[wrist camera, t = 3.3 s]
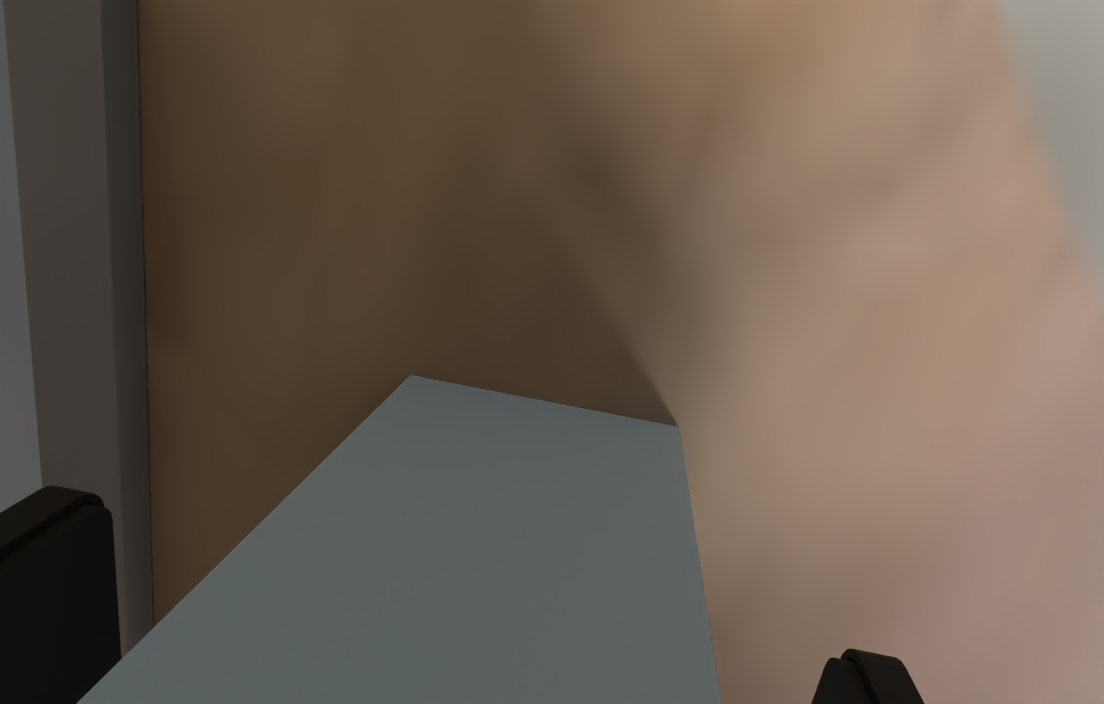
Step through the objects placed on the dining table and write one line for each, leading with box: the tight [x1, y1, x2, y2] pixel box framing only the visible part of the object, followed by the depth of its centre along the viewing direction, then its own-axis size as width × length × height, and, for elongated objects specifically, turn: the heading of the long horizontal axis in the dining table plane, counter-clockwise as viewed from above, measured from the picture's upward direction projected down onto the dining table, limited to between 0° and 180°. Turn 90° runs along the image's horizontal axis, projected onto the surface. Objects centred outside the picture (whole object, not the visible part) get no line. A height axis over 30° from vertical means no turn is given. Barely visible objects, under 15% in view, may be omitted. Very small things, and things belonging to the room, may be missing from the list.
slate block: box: [77, 375, 721, 704], centre depth 9 cm, size 5×5×8 cm
